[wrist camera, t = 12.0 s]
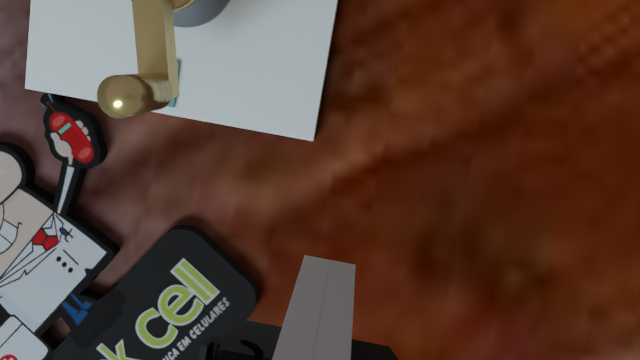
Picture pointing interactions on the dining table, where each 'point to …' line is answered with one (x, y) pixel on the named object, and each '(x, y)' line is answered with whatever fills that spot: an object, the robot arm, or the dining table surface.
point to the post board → (196, 57)
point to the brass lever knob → (147, 62)
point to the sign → (101, 267)
